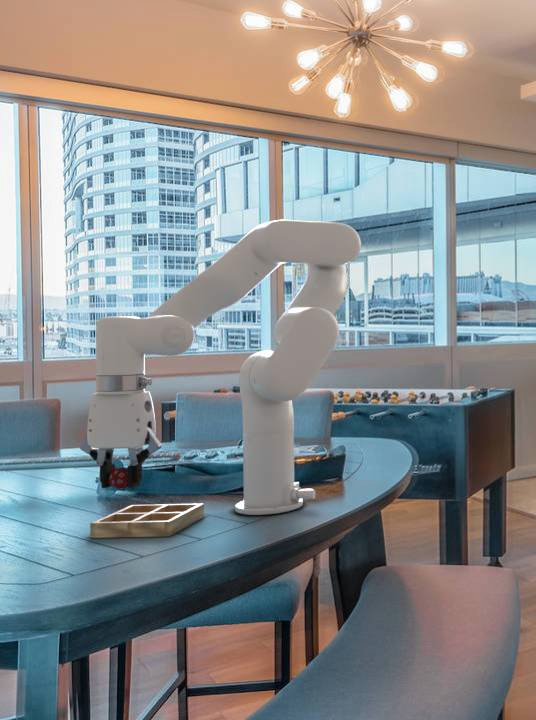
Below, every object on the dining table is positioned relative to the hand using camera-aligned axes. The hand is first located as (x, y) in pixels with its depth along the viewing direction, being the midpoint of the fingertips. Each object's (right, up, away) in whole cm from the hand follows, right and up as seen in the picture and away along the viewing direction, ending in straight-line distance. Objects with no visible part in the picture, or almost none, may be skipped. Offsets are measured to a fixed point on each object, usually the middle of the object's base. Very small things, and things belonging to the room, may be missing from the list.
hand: (121, 485), depth 144 cm
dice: (0, -1, 0) cm, 1 cm away
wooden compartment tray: (+3, -8, +3) cm, 10 cm away
